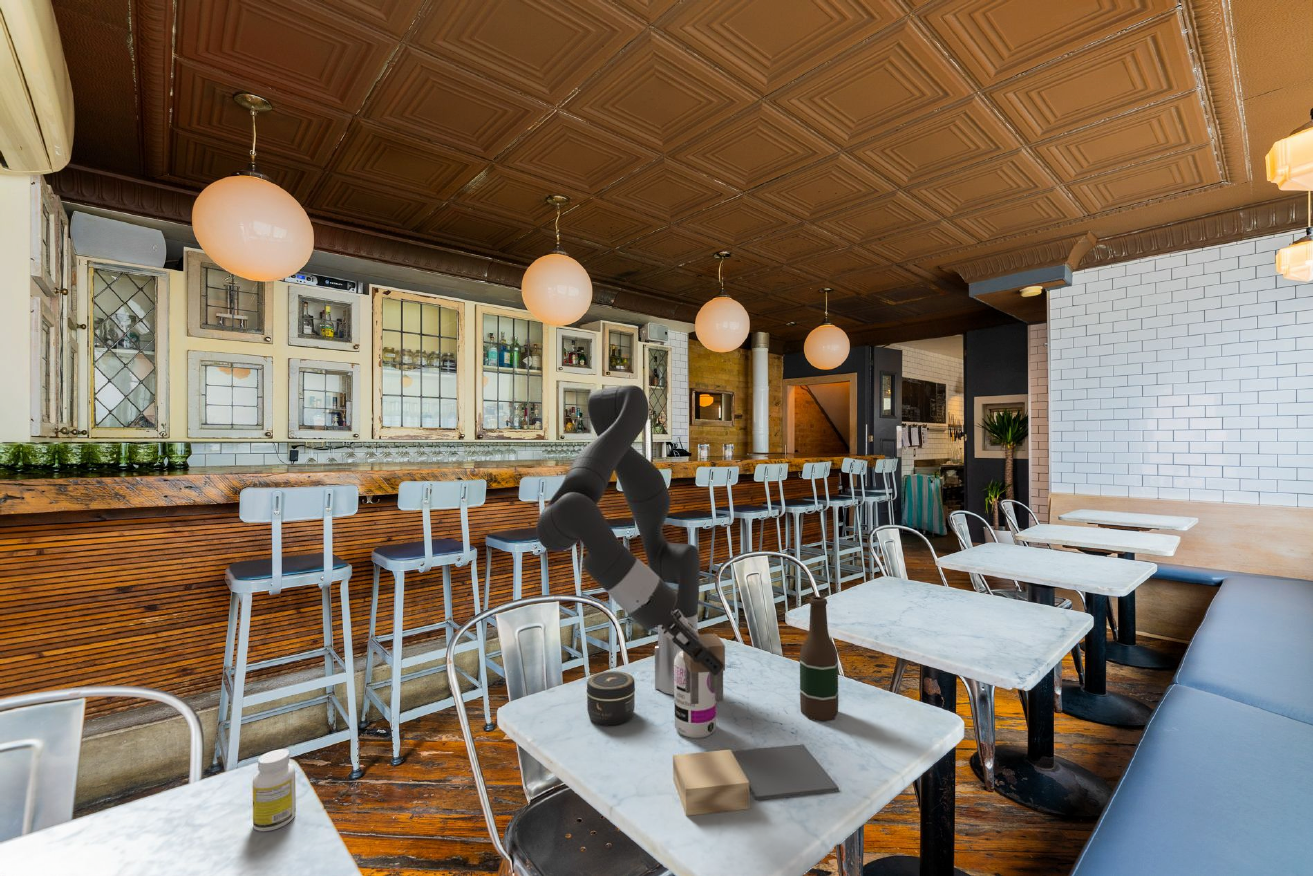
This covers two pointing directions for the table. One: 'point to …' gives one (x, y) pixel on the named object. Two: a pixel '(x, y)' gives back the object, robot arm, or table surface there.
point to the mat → (783, 772)
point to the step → (710, 782)
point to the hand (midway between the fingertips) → (714, 662)
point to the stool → (705, 669)
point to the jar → (610, 698)
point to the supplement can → (693, 716)
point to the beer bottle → (818, 667)
